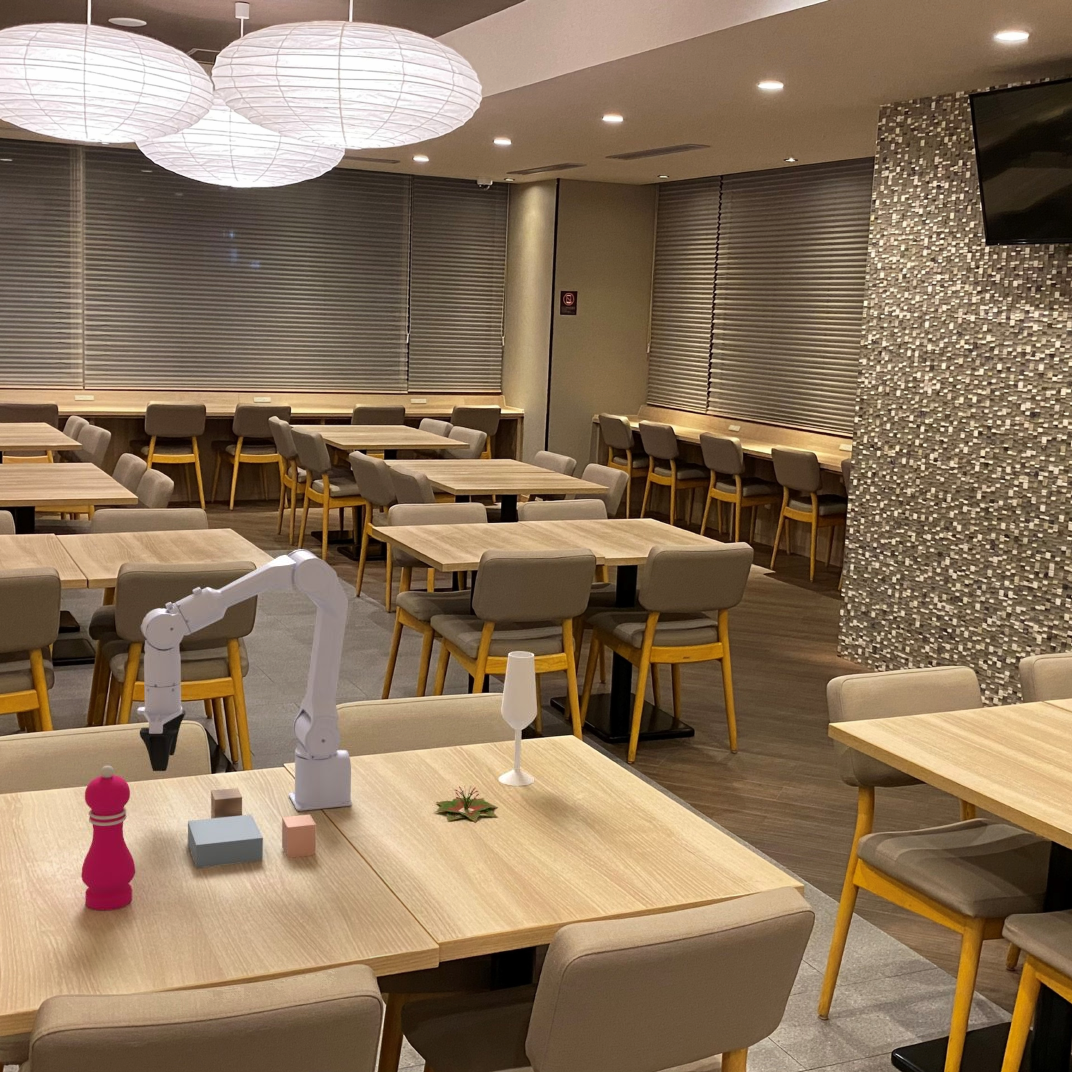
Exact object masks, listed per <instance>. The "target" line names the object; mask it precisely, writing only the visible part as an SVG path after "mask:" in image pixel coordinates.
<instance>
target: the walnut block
mask: <svg viewBox="0 0 1072 1072" xmlns="http://www.w3.org/2000/svg"><path fill="white" fill-rule="evenodd" d="M210 808H211V809H210V817H211V818H210V819H212V818H222V817H232V816H241V815H243V796H242V794H241V792H240V789H239V788H238V787H235V788H234V787H233V788H222V789H213V790H211V791H210Z"/></svg>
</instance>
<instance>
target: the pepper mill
mask: <svg viewBox="0 0 1072 1072" xmlns="http://www.w3.org/2000/svg"><path fill="white" fill-rule="evenodd" d="M114 773H115V770H114V768H113V766H111V765H104V766H102V767H101V769H100V776H97V777H95V778H93V779H92V780H91V781H89V783H88V784H87V785H86V787H85V792H84V801H85V804H86V805H87V807H88V808H89V809H90V810H89V811H88V815H89V817H88V822H89V823H91V824H92V841H91V844H90V847H89V849H88V851H87V853H86V856H85V858H84V860H83V863H82V866H81V874H80V875H81V876H80V877H81V880H82V882H83V884H84V885H86V887H87V888H86V889H85V894H84V895H85V905H86V906H87V907H88V908H90V909H92V910H96V911H112V910H117V909H120V908H123V907H125V906H127V905H129V904H130V902H131V901H132V900H133V899H132V898H133V887H132V885H131V884H130V883H131V881H132V880H133V879H134V877H135V874H136V864H135V861H134V858H133V855H132V852H130V850H129V847H128V846H127V843H126V841H125V838H124V830H123V829H124V822H125V821H126V819H127V812H128V811H127V808H126V805H127V804H128V802H129V800H130V796H131V791H130V790H131V789H130V786H129V783H128V782H127V781H126V779H124V778H123V777H121V776H119V775H115V774H114Z"/></svg>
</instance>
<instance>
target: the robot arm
mask: <svg viewBox="0 0 1072 1072" xmlns="http://www.w3.org/2000/svg"><path fill="white" fill-rule="evenodd" d="M337 574H338V573H337V571H336V570H334V568H333V567H331V566H330V564H328V563H327V562H326V561H325V560H323V559H321V558H319V557H317V556H316V555H315V553H313V552H311V551H310V550H308V549H303V548H302V549H295V550H293V551H291V552H290V553H288V555H286V554H284V555H280V556H277V557H275V558H274V559H272V560H271V561H269V562H268V563H266V564H264V565H262V566H260V567H258V568H257V569H254V570H253V571H251V572H249V573H247V574H245V575H243V576H242V577H240V578H238V579H236V580H234V581H232V582H230V583H229V584H227V585H225V586H223V587H221V588H218V589H215V588H212V587H210V586H209V587H208V586H207V587H205V588H203V589H201V586H197V587H196V588H193V589H192V594H190V595H188V596H185V597H183V598H182V599H180V600H178V601H175V602H174V603H172V602H171V601H170V602H167V603H165V607H166V608H163V607H162V608H160V607H159V608H155V609H152V610H150V611H149V612H148V613H146V614H145V617H143V620H142V623H141V625H140V630H141V633H142V635H143V637H145V640H144V647H143V648H144V649H143V650H144V655H143V667H144V668H143V672H144V673H143V675H144V678H143V679H144V680H143V682H144V683H143V684H144V685H143V686H144V706H139V707H138V708H137V709H136V713H137V715H142V716H144V717H145V719H146V720H147V721H148V727H141V729H140V730H139V736H140V738H141V740H142V742H143V743H144V745H145V748H146V751H147V753H148V758H149V762H150V766H151V769H152V772H166V771H167V769H168V765H169V762H170V761H169V759H170V756H174V755H175V751H176V748H177V743H178V736H179V732H180V727H181V724H182V722H183V720H184V718H185V715H186V711H185V710H183V707H182V682H181V681H182V678H181V677H182V675H181V674H182V673H181V672H182V670H181V667H182V666H181V659H182V658H181V653H180V643H182V640H183V638H184V636H189V635H191V634H193V633H195V632H197V631H199V630H201V629H204V628H205V627H208V626H209V625H211V624H213V623H215V622H218V621H219V620H221V619H223V618H224V616H225V613H226V611H227V609H228V608H230V607H232V606H234V605H236V604H238V603H241V602H244V601H245V600H248V599H250V598H252V597H255V596H257V595H259V594H261V593H264V592H267V591H269V590H271V589H275V590H283V591H289V592H292V591H293V586H295V587H296V588H297V589H298V591H299V592H301V593H303V594H304V595H306V596H307V597H308V598H309V599H310V601H312V602H313V604H314V605H315V606H316V614H315V615H316V617H315V623H314V631H313V639H312V646H311V655H310V662H309V669H308V670H309V671H308V676H307V677H308V678H307V683H306V684H307V685H306V693H305V696H304V697H303V699H302V701H301V703H300V708H299V712H298V713H297V714H296V717H295V718H294V721H293V723H292V731H293V735H294V737H296V739H297V740H298V743H297V746H296V748H295V750H294V752H295V754H294V792H289V793H288V797H289V799H290V800H291V802H292V804H293V806H294V807H295V809H296V811H298V812H302V811H303V812H304V811H310V810H311V811H312V810H319V809H329V808H331V809H332V808H339V807H341V808H342V807H350V806H352V801H351V800H352V799H351V798H352V797H351V794H352V793H351V792H352V763H351V758H350V754H349V751H348V750H346V749H339V747H340V744H341V740H342V737H341V732H340V730H339V727H338V723H339V722H338V721H339V713H338V709H337V703H336V699H337V692H338V691H337V690H338V684H339V678H340V677H339V676H340V675H339V674H340V667H341V661H342V654H343V653H342V652H343V645H344V637H345V631H346V623H347V616H348V615H347V614H348V608H349V600H348V597H347V595H346V592H345V591H344V588H343V587H342V584H341V582H340V579H339V578H338V575H337Z"/></svg>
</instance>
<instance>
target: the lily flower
mask: <svg viewBox="0 0 1072 1072" xmlns="http://www.w3.org/2000/svg"><path fill="white" fill-rule="evenodd" d="M464 787H466V786H465V785H464ZM458 788H459V789H460V790H461V791H458V789H454V791H455V795H457V796H455V798H453V799H452V800H442V801H435V803H436V804H437V805H439V806H440V807H439V808H437V809H436V810H435V811H434V813H441V812H448V813H447V814H446V818H447V822H449V821H453V820H457V819H463V818H468V819H469V820H471V821H473V823H475V824H476V822H477V821H478V818H479V817H493V818H494V817H496V818H499V817H498V815H497V814H495V812H494V811H493V810H490V809H489V808H497V806H496V805H494V804H492V803H489V802H488V801H485V798H483V797H482V798H481V797H480V798H477V797H478V796H479V795H480V793H478V792H479V790H476V787H474V788H473V789H472V790H471V788H472V786H469V789H468V790H469V791H468V794H467V792H466V790H467V789H465V791H464V790H462V789H463V788H461V787H460V786H458ZM474 790H475V792H474ZM475 793H477V794H476V795H475V796H474V797H473V798H471V797H472V796H473V795H474V794H475ZM459 794H460V795H461V796H462V797H460V795H459ZM462 809H464V811H468V810H469V809H471V810H472V811H471V812H464V811H463V812H462V811H460V810H462ZM456 813H457V814H461V815H460V816H456ZM481 813H483V814H481Z"/></svg>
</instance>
